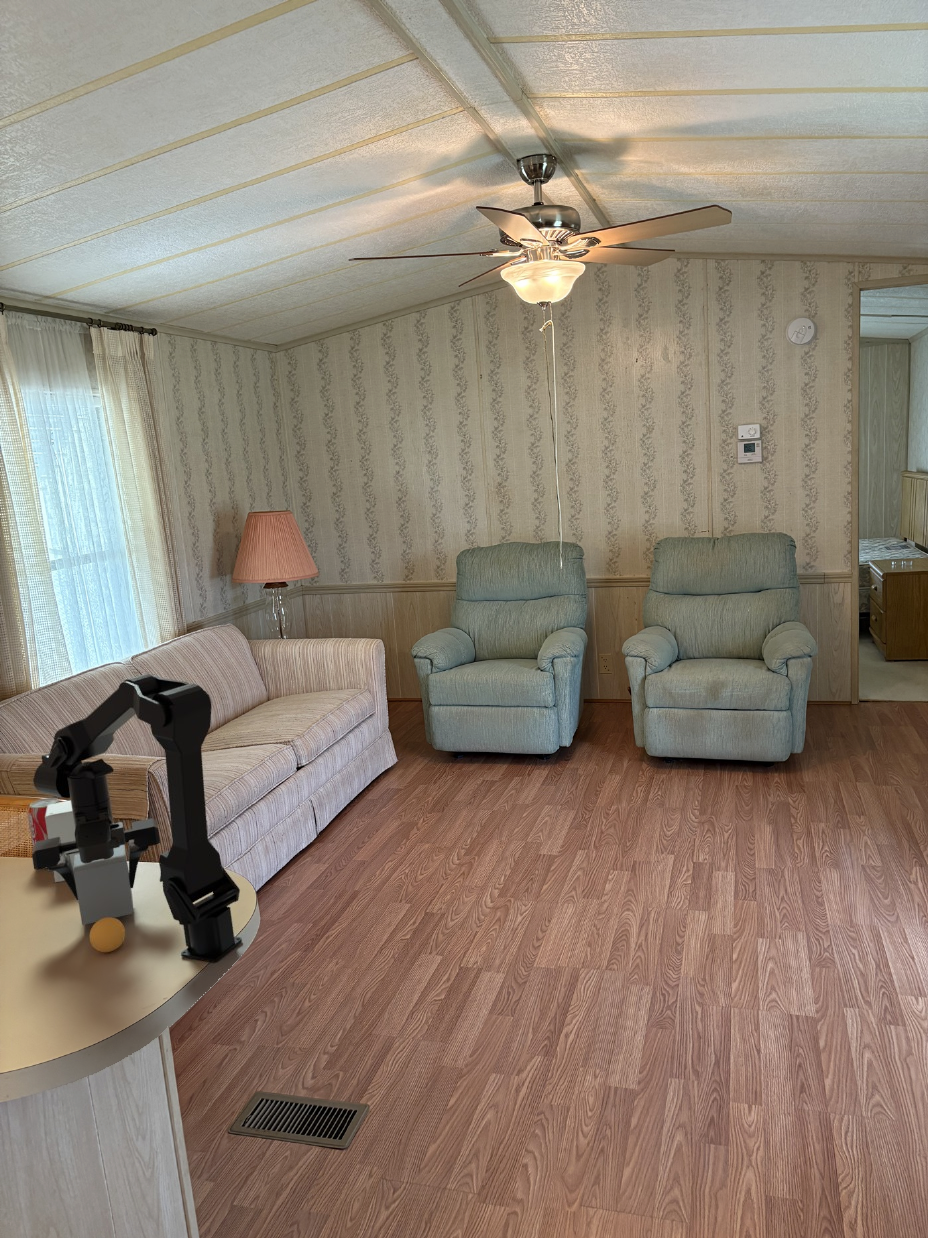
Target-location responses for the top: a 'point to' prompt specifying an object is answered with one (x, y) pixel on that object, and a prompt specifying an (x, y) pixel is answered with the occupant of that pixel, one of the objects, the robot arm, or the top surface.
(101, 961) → the top surface
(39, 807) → the beverage can
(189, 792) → the robot arm
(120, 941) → the ball
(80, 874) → the pale grey box
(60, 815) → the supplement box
